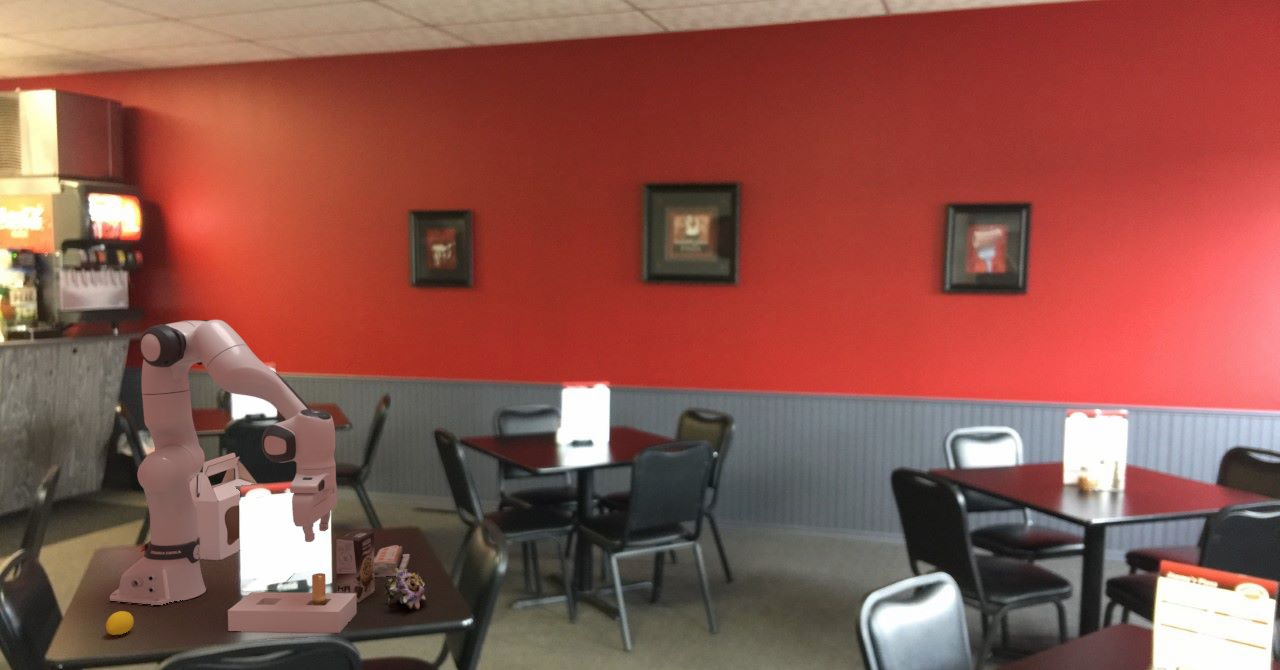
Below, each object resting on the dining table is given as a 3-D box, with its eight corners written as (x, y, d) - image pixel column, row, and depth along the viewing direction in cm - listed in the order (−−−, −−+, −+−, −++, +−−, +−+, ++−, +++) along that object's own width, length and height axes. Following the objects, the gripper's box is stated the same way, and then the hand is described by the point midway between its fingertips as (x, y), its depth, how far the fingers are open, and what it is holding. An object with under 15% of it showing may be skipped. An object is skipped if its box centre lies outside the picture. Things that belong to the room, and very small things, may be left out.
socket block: (228, 631, 229) (227, 610, 228) (251, 612, 242) (251, 592, 241) (339, 632, 228) (339, 611, 228) (356, 613, 241) (356, 593, 241)
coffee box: (359, 603, 249) (358, 540, 248) (335, 601, 250) (334, 538, 249) (375, 591, 258) (375, 531, 256) (353, 589, 259) (352, 529, 258)
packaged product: (403, 561, 270) (366, 562, 269) (403, 578, 270) (366, 579, 269) (410, 542, 288) (375, 544, 286) (410, 559, 288) (375, 560, 287)
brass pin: (310, 618, 233) (310, 577, 233) (315, 614, 236) (314, 573, 236) (323, 618, 233) (322, 577, 233) (327, 614, 236) (327, 573, 236)
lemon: (122, 642, 223) (119, 620, 222) (100, 641, 224) (97, 619, 223) (141, 627, 230) (139, 605, 229) (120, 625, 231) (117, 604, 230)
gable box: (219, 561, 284) (217, 465, 282) (178, 558, 286) (175, 463, 284) (261, 540, 306) (259, 451, 304) (222, 538, 308) (220, 449, 306)
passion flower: (416, 629, 245) (412, 601, 238) (375, 619, 247) (370, 590, 239) (433, 593, 254) (430, 564, 246) (394, 583, 255) (389, 554, 248)
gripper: (318, 469, 243) (319, 524, 244) (286, 487, 223) (287, 547, 224) (343, 469, 243) (344, 524, 244) (314, 487, 223) (315, 547, 223)
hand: (317, 535), depth 234 cm, fingers open, 8 cm apart
